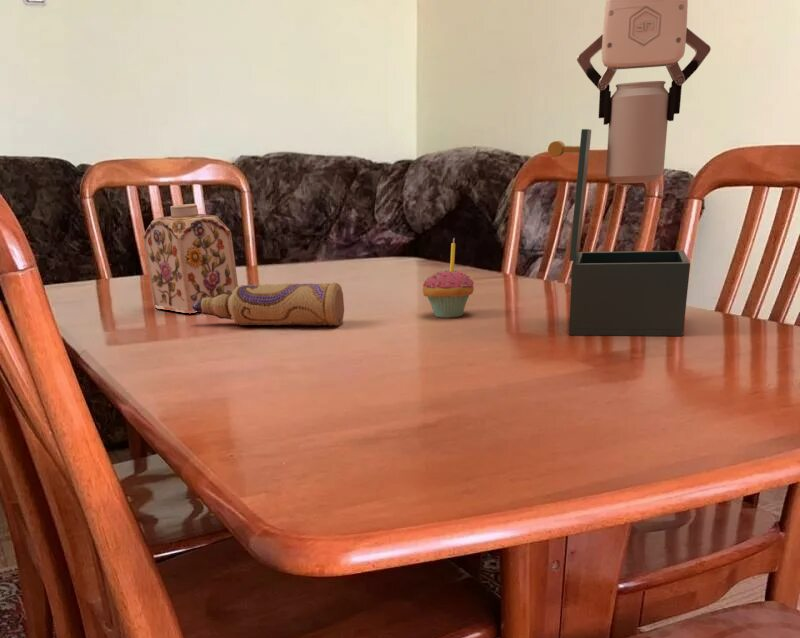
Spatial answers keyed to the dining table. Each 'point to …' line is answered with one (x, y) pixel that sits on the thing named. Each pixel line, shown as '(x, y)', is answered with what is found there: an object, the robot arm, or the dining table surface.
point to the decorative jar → (189, 258)
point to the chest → (629, 293)
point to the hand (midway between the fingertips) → (638, 121)
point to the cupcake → (448, 290)
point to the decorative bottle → (278, 304)
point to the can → (637, 132)
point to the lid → (557, 150)
